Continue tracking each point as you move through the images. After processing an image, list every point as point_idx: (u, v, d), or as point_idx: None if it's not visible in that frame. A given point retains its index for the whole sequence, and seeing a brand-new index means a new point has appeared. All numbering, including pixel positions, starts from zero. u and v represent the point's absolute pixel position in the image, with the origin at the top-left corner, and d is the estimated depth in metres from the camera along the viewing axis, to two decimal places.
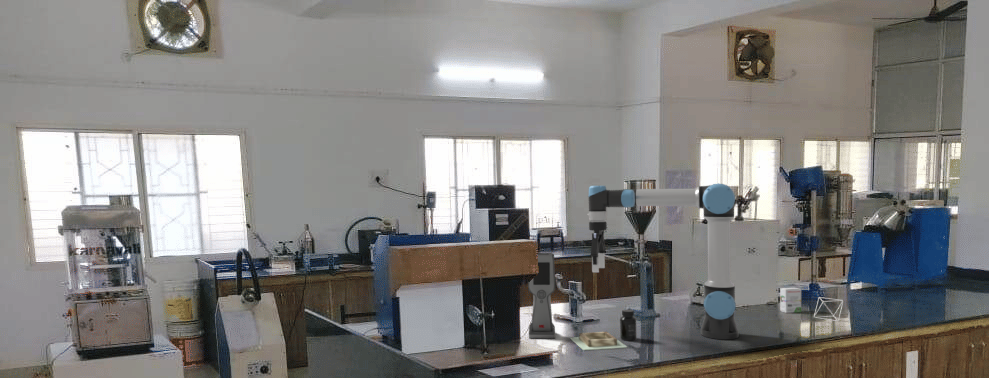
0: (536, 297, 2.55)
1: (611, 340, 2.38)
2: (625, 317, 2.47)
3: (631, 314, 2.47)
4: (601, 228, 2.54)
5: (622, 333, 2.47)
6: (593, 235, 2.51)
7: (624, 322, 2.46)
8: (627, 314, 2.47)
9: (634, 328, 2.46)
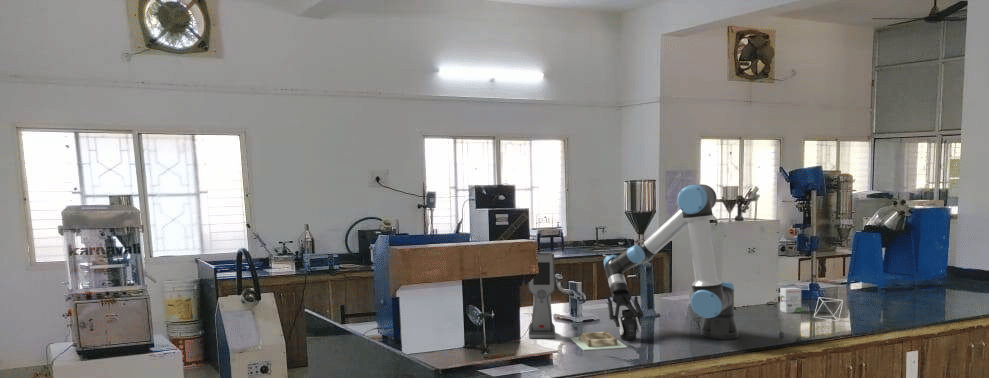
0: (536, 297, 2.55)
1: (611, 340, 2.38)
2: (625, 317, 2.47)
3: (631, 314, 2.47)
4: (614, 289, 2.58)
5: None
6: (606, 301, 2.56)
7: (624, 322, 2.46)
8: (627, 314, 2.47)
9: (634, 328, 2.46)
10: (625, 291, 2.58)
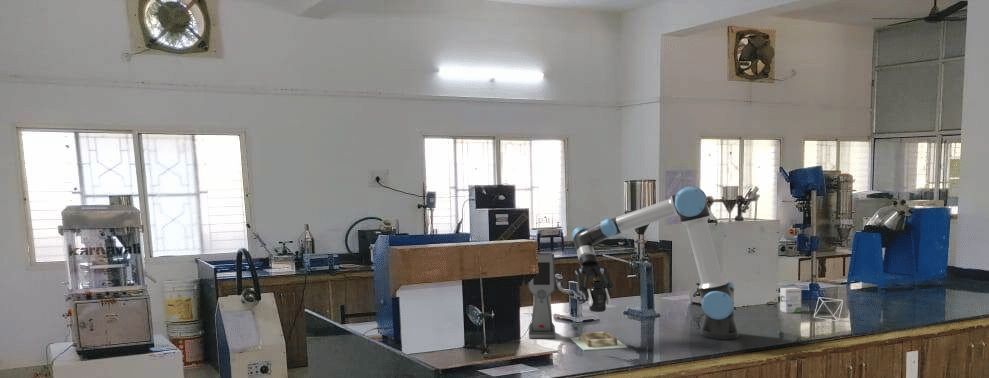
0: (536, 297, 2.55)
1: (611, 340, 2.38)
2: (594, 288, 2.42)
3: (600, 285, 2.42)
4: (583, 261, 2.52)
5: None
6: (575, 273, 2.51)
7: (593, 292, 2.41)
8: (596, 285, 2.41)
9: (603, 299, 2.41)
10: (594, 262, 2.52)
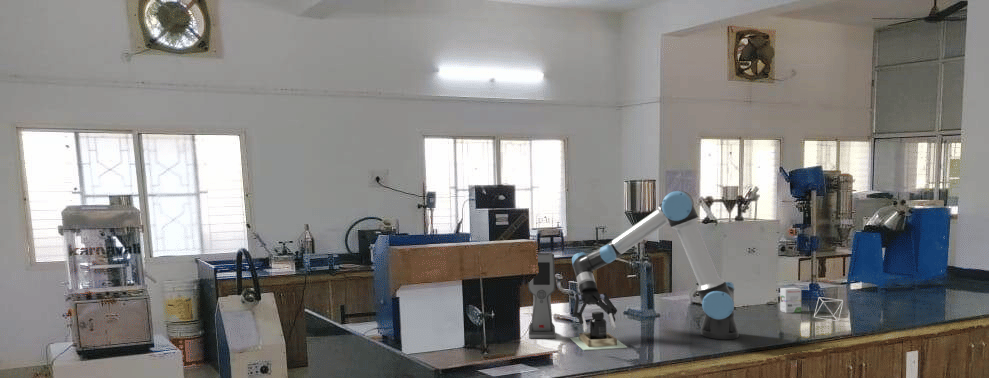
0: (536, 297, 2.55)
1: (611, 340, 2.38)
2: (595, 319, 2.42)
3: (601, 316, 2.42)
4: (583, 288, 2.52)
5: (592, 336, 2.42)
6: (574, 298, 2.51)
7: (594, 324, 2.41)
8: (597, 316, 2.41)
9: (604, 331, 2.41)
10: (594, 289, 2.52)
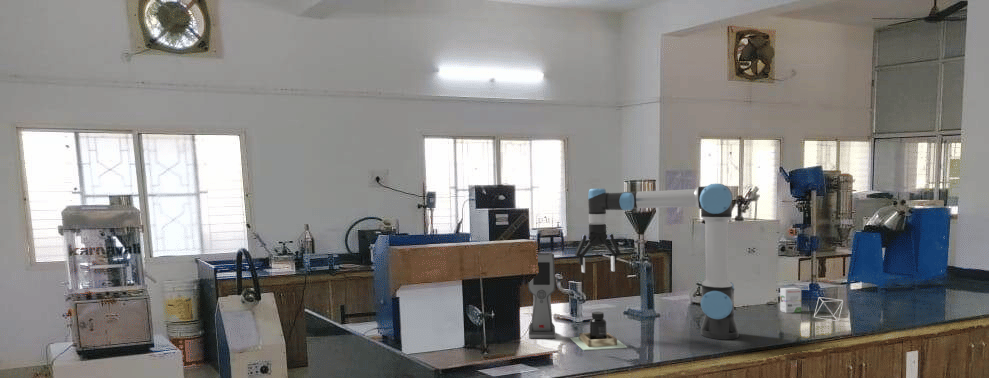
0: (536, 297, 2.55)
1: (611, 340, 2.38)
2: (595, 319, 2.42)
3: (601, 316, 2.42)
4: (592, 230, 2.58)
5: (592, 336, 2.42)
6: (582, 236, 2.61)
7: (594, 324, 2.41)
8: (597, 316, 2.41)
9: (604, 331, 2.41)
10: (603, 232, 2.59)
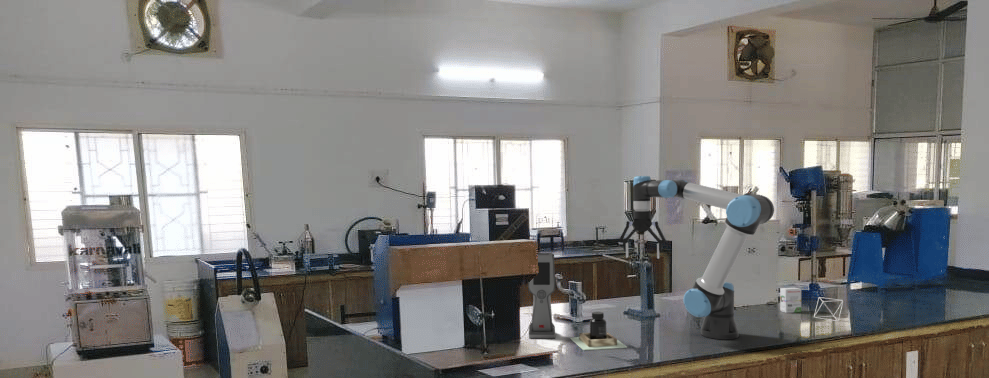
0: (536, 297, 2.55)
1: (611, 340, 2.38)
2: (595, 319, 2.42)
3: (601, 316, 2.42)
4: (634, 217, 2.65)
5: (592, 336, 2.42)
6: None
7: (594, 324, 2.41)
8: (597, 316, 2.41)
9: (604, 331, 2.41)
10: None
